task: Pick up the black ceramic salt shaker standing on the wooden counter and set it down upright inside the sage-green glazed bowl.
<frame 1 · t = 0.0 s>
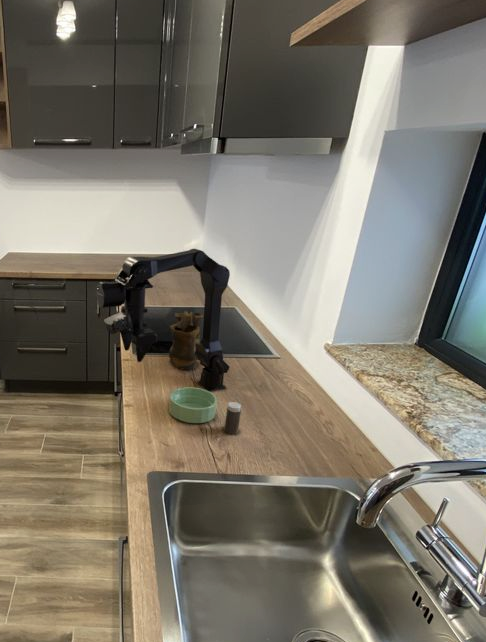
hand: (132, 355, 129), 15 cm above the counter, tool pointing down, fingers open, 9 cm apart
pottery vessel: (183, 365, 160), on the counter
bowl: (191, 412, 128), on the counter
shaker: (230, 430, 120), on the counter
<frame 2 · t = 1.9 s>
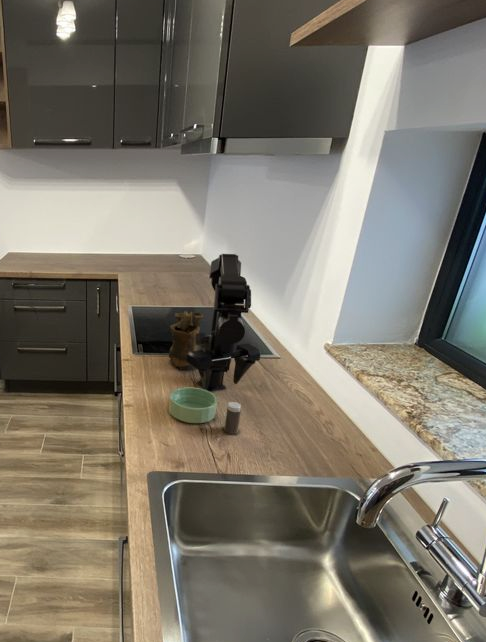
hand: (220, 385, 117), 12 cm above the counter, tool pointing down, fingers open, 9 cm apart
nothing on the counter moved.
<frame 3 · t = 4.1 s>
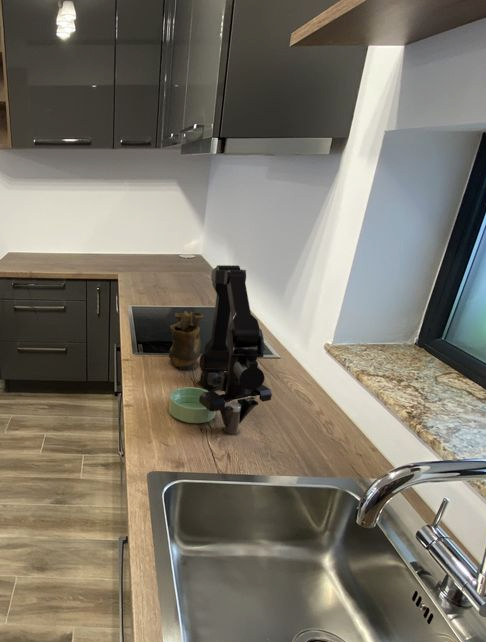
hand: (231, 424, 119), 2 cm above the counter, tool pointing down, fingers closed on shaker, 3 cm apart
shaker: (230, 430, 120), on the counter, touching gripper
everything else where it was.
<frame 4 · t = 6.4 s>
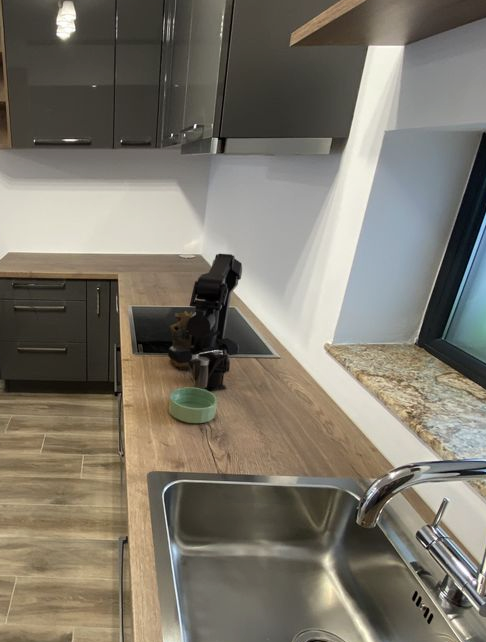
hand: (200, 378, 122), 12 cm above the counter, tool pointing down, fingers closed on shaker, 3 cm apart
shaker: (200, 385, 123), point 10 cm above the counter, touching gripper
everything else where it was.
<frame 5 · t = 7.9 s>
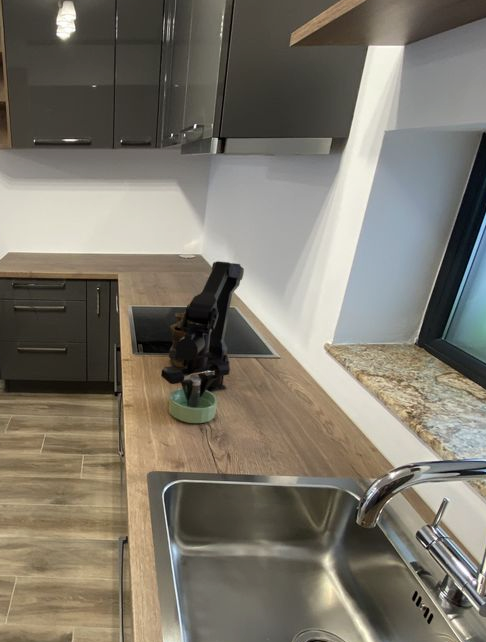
hand: (193, 398, 126), 5 cm above the counter, tool pointing down, fingers closed on shaker, 3 cm apart
shaker: (192, 404, 127), point 3 cm above the counter, touching gripper
everything else where it was.
when the fingers open (3 cm above the counter, at t = 9.4 s): shaker stays where it is, resting on bowl.
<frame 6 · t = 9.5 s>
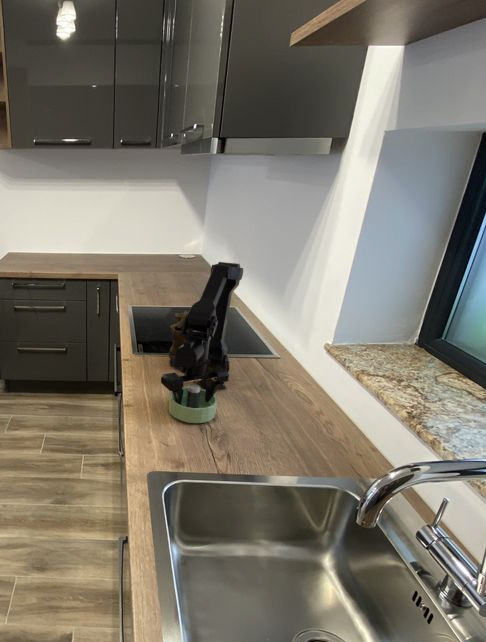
hand: (192, 404, 127), 3 cm above the counter, tool pointing down, fingers open, 9 cm apart
shaker: (192, 411, 128), point 1 cm above the counter, touching bowl
everything else where it was.
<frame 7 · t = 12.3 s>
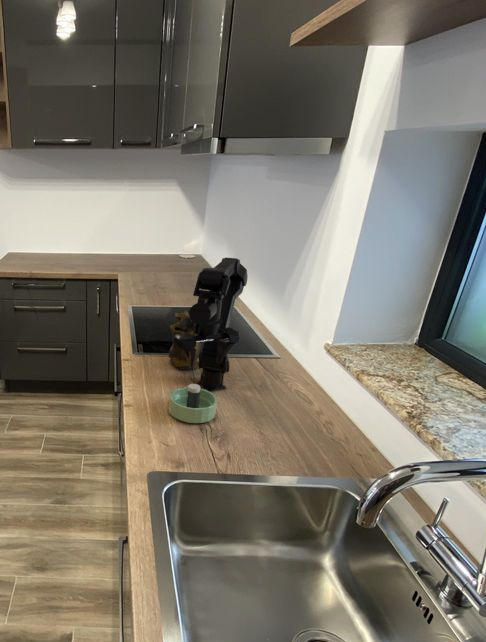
hand: (204, 365, 130), 12 cm above the counter, tool pointing down, fingers open, 9 cm apart
nothing on the counter moved.
at the end: shaker inside the target area in the bowl (0.0 cm from its centre), point 0.6 cm above the bowl's base; shaker tilted 0°; the gripper is holding nothing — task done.
